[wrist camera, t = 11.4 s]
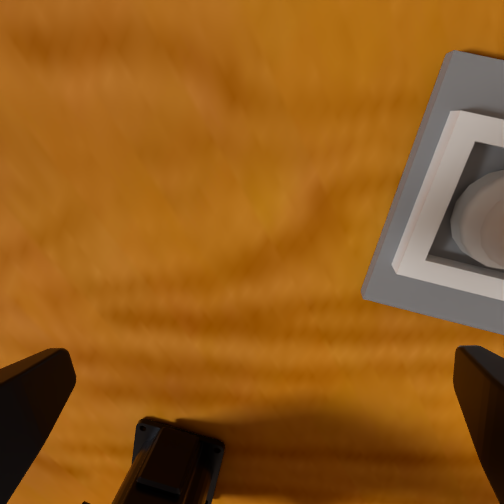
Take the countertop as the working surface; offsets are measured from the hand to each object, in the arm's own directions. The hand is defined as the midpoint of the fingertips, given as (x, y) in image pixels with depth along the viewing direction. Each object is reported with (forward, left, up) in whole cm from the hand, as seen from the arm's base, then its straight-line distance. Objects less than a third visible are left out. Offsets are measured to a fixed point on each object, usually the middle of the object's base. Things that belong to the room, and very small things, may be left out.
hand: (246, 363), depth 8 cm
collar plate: (+3, -10, -12) cm, 16 cm away
